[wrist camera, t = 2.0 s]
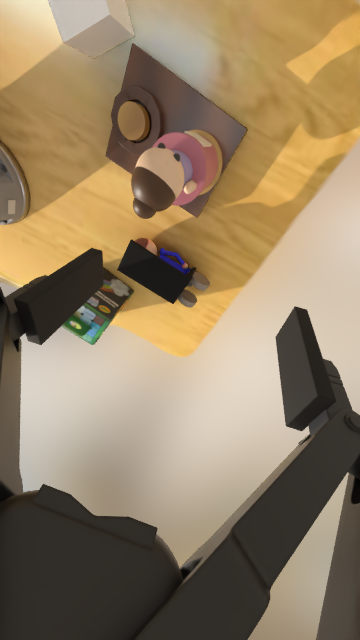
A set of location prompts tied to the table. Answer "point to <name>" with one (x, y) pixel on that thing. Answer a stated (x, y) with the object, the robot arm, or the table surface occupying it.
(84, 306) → the chalk box
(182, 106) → the brown wooden base
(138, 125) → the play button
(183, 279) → the figurine character
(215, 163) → the doll
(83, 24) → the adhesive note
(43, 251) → the table surface
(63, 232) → the table surface
